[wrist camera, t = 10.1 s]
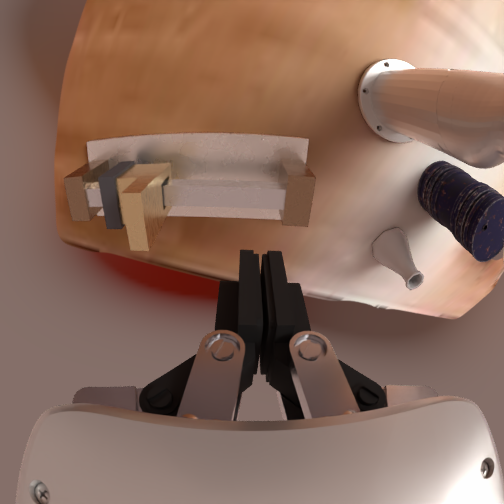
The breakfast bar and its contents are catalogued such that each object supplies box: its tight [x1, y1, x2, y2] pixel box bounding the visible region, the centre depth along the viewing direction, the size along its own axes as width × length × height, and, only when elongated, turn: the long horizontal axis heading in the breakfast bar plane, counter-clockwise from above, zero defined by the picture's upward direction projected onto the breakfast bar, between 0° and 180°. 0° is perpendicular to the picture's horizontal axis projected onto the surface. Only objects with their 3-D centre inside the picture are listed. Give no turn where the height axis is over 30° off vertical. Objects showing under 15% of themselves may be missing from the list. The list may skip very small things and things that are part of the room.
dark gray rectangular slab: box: [98, 161, 135, 229], centre depth 30 cm, size 2×6×6 cm, turn 177°
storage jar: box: [418, 161, 504, 262], centre depth 30 cm, size 10×10×15 cm
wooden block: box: [115, 163, 172, 251], centre depth 28 cm, size 5×6×11 cm
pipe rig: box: [64, 132, 316, 227], centre depth 32 cm, size 31×12×8 cm, turn 87°
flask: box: [372, 227, 424, 290], centre depth 39 cm, size 7×7×10 cm
